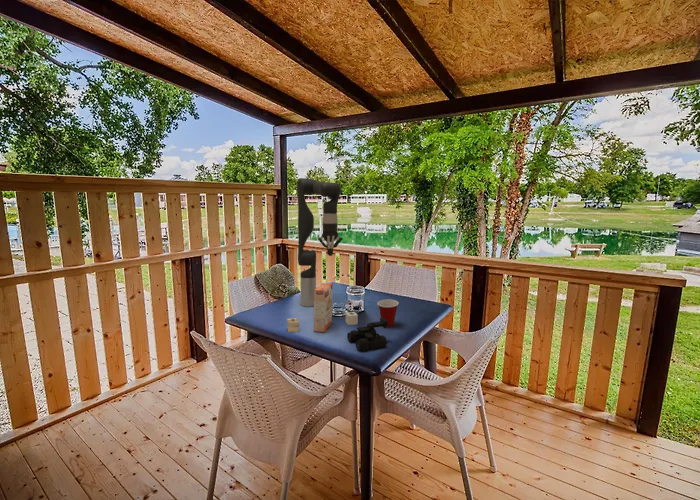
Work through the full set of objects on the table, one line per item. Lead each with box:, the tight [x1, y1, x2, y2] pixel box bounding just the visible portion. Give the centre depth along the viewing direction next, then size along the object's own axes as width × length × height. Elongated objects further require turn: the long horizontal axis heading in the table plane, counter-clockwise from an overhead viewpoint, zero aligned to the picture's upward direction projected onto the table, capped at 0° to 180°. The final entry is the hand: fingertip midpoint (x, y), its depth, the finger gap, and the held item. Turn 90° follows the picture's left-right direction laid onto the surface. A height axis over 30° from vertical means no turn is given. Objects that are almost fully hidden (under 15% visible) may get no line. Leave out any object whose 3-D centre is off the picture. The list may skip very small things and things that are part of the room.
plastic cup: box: [377, 299, 399, 328], centre depth 164 cm, size 11×11×12 cm
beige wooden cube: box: [345, 311, 359, 326], centre depth 167 cm, size 5×5×5 cm
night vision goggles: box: [346, 317, 388, 352], centre depth 142 cm, size 14×16×10 cm
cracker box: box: [313, 282, 334, 333], centre depth 160 cm, size 14×6×21 cm, turn 169°
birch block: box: [286, 317, 300, 333], centre depth 157 cm, size 5×5×5 cm
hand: (330, 255), depth 168 cm, fingers closed
